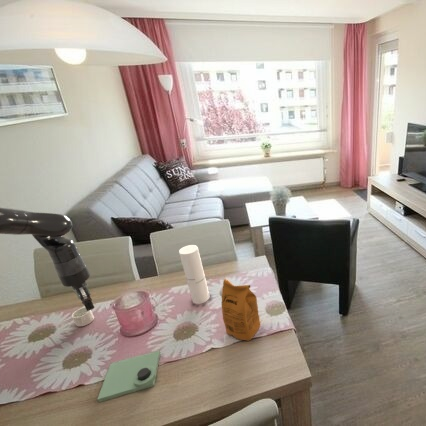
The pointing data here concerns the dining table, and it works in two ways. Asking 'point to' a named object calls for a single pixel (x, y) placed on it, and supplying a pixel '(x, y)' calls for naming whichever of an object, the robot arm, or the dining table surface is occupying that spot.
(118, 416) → the dining table surface
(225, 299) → the coffee package
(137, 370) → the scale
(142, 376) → the button
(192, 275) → the cylindrical container
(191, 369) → the dining table surface
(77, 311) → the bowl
